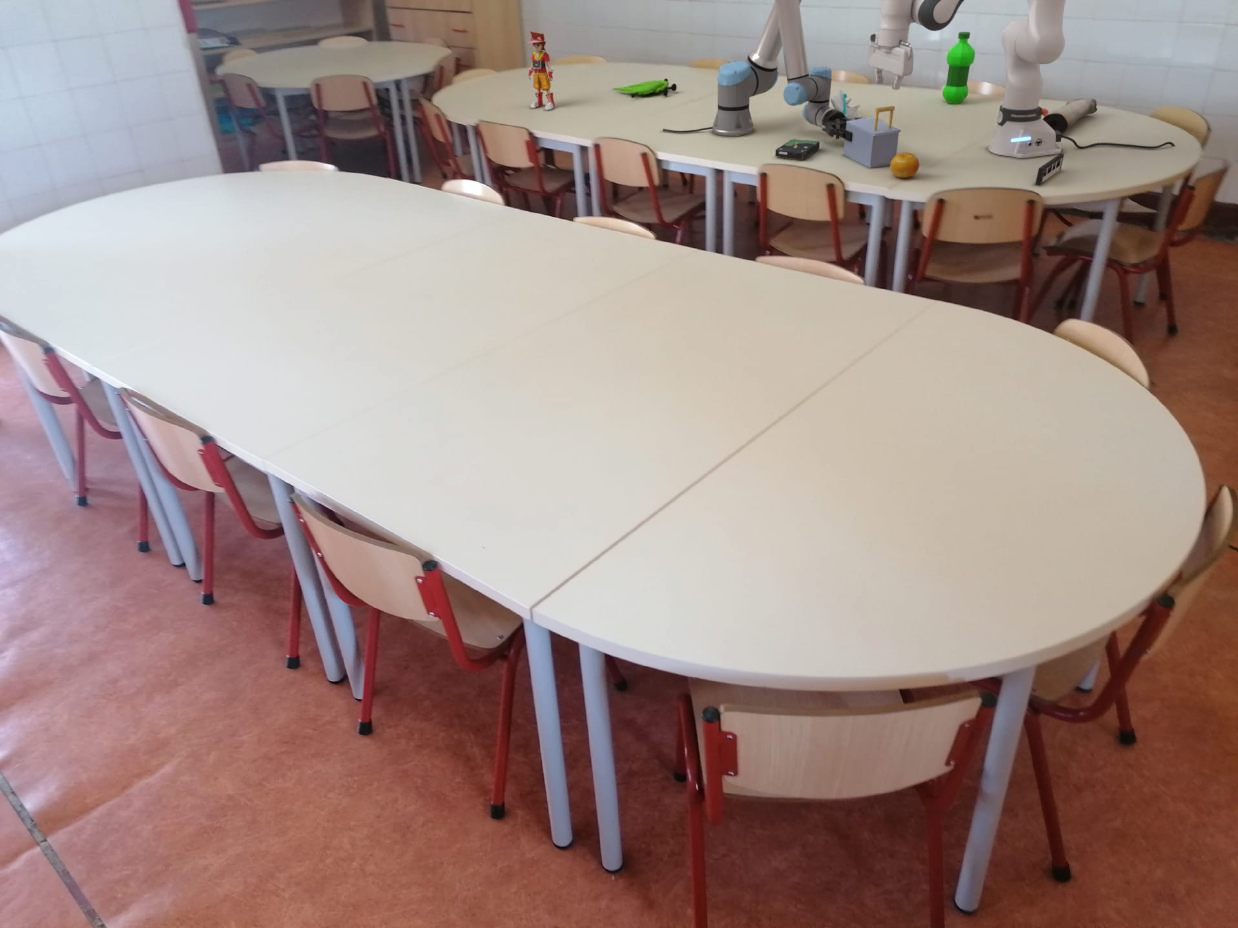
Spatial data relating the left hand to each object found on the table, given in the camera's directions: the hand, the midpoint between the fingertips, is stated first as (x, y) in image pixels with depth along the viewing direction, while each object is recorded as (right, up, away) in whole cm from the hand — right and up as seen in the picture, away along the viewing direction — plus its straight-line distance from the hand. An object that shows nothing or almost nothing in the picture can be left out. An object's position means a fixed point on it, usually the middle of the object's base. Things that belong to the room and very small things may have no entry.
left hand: (864, 135), depth 299 cm
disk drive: (-20, -3, +10) cm, 23 cm away
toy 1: (-115, +43, +84) cm, 148 cm away
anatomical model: (+5, +24, +47) cm, 53 cm away
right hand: (+2, +9, -18) cm, 20 cm away
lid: (+1, 0, -5) cm, 6 cm away
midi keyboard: (+50, -22, -24) cm, 60 cm away
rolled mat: (+79, +12, +23) cm, 83 cm away
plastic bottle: (+51, +34, +56) cm, 83 cm away
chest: (+2, -8, +1) cm, 8 cm away
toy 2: (-72, +55, +98) cm, 134 cm away
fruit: (+8, -19, -16) cm, 26 cm away
